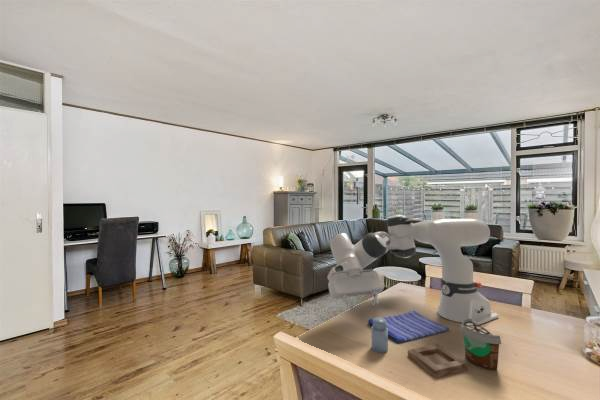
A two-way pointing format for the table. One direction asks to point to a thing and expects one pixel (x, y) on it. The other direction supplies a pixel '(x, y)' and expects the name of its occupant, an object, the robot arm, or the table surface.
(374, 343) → the blue-grey shaker
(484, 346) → the food container
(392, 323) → the dish towel
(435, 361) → the square wooden frame
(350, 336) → the table surface
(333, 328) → the table surface
